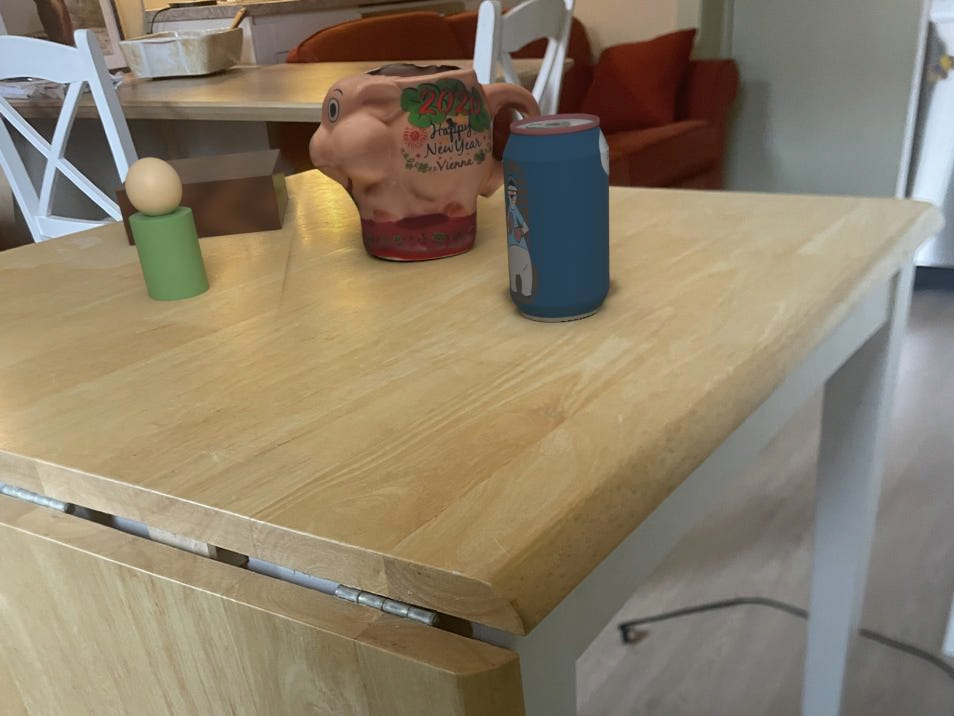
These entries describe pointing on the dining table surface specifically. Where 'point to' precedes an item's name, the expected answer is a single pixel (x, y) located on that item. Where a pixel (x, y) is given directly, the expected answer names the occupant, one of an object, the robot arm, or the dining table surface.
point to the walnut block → (226, 193)
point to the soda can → (557, 216)
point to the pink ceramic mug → (415, 153)
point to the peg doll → (164, 232)
